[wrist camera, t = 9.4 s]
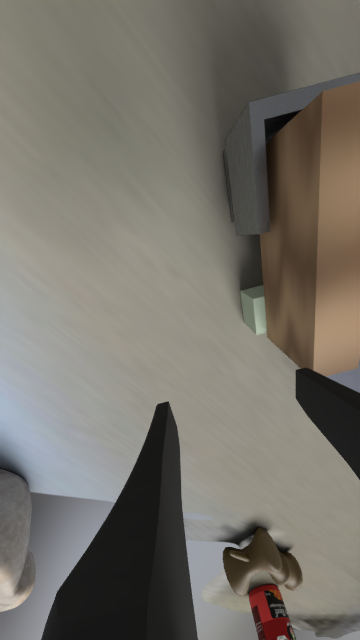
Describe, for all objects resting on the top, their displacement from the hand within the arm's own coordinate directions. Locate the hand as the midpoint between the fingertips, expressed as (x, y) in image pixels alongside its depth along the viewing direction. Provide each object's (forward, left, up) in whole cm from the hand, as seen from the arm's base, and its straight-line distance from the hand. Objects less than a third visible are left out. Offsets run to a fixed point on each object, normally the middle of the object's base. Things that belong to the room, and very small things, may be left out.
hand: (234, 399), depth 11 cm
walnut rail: (+5, -7, -7) cm, 12 cm away
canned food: (-77, -1, -11) cm, 78 cm away
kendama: (-51, -2, -11) cm, 52 cm away
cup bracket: (+11, -7, -10) cm, 17 cm away
